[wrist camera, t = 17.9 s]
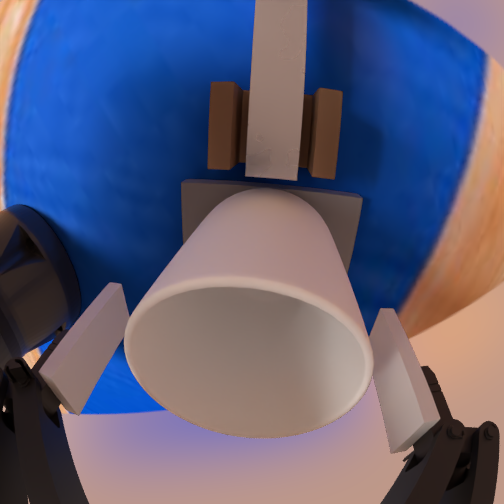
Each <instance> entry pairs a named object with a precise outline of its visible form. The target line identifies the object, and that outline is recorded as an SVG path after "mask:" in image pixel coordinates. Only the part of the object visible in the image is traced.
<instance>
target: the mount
mask: <svg viewBox="0 0 504 504" xmlns="http://www.w3.org/2000/svg"><path fill="white" fill-rule="evenodd" d="M342 96H343V91H338V90H332V89H326V88H319V89H318V90H317V91H316V92H315V93H314V95H305V94H304V98H303V113H302V127H301V139H300V151H299V163H298V167H303V168H307V169H308V171H309V172H310V174H311V176H312V177H318V178H326V179H334V180H335V172H336V164H337V155H338V145H339V135H340V124H341V111H342ZM249 97H250V90H242V89H241V88H240V87H239V86H238V85H237V84H236V83H235V82H211V91H210V110H209V135H208V169H223V170H230V169H231V168H233V167H234V166H235V165H237V164H238V163H239V162H244V163H246V152H247V133H248V115H249Z"/></svg>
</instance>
